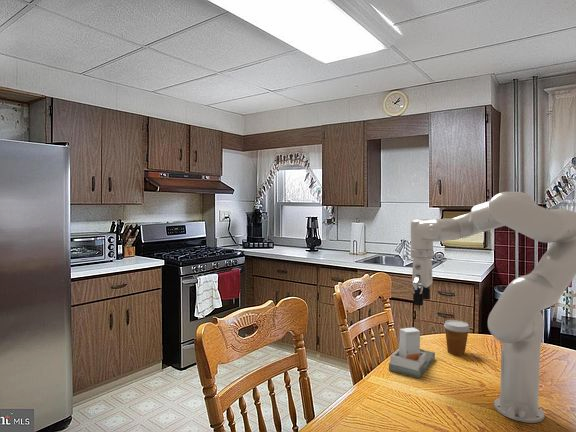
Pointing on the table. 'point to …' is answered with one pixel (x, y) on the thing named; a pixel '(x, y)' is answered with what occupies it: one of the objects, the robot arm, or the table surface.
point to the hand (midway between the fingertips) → (421, 301)
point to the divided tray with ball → (411, 363)
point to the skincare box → (409, 343)
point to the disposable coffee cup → (456, 336)
